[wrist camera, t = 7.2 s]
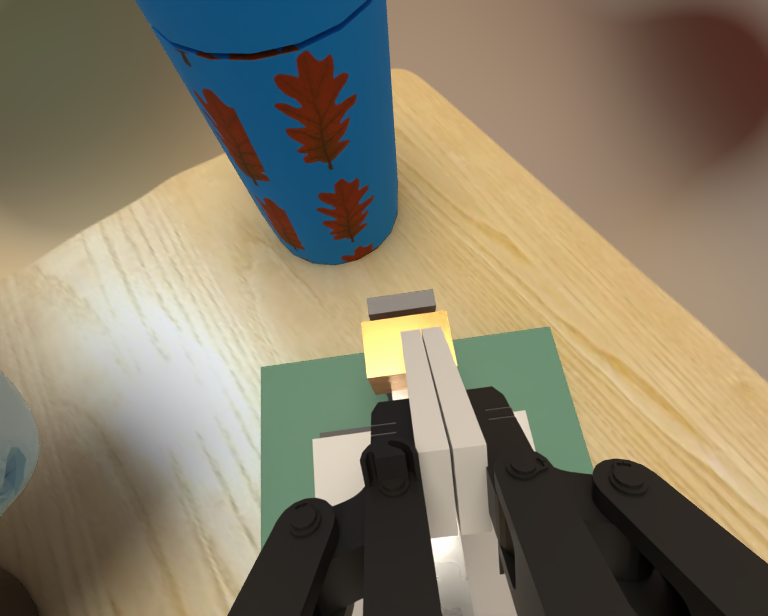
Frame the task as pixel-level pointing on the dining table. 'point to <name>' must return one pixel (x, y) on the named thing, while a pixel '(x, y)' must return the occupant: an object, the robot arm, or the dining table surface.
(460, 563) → the grey and orange bar
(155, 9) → the thermos
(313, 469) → the lever on green base
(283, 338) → the dining table surface
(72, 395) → the dining table surface
